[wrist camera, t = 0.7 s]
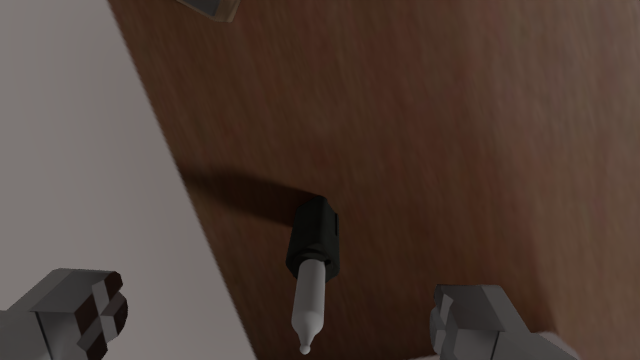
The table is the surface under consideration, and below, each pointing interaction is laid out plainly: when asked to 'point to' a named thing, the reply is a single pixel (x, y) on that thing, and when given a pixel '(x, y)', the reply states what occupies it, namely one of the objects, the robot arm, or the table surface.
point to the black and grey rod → (312, 264)
